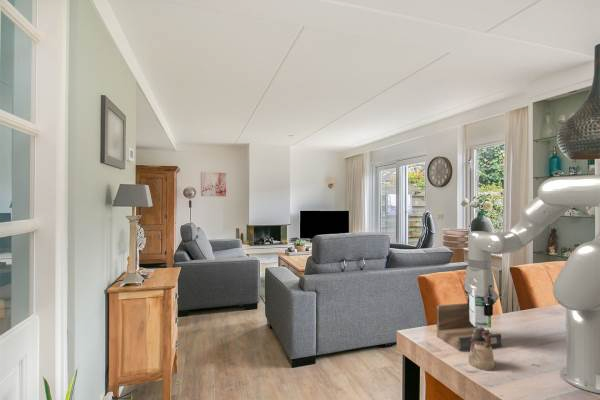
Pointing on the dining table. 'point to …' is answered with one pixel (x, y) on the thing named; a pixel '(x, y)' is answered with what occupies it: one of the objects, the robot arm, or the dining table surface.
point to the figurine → (481, 350)
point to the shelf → (459, 327)
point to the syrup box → (478, 310)
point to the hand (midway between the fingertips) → (479, 311)
